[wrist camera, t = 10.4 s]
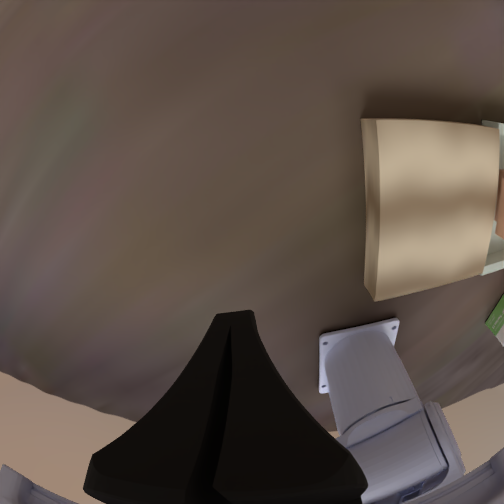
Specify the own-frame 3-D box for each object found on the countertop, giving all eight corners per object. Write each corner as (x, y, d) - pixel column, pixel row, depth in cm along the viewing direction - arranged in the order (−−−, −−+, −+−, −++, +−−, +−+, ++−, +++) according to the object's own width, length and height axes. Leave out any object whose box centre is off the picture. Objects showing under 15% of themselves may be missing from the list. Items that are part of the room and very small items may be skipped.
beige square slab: (467, 260, 21) (482, 273, 19) (363, 284, 22) (374, 301, 20) (479, 124, 15) (499, 128, 13) (360, 118, 16) (376, 119, 14)
